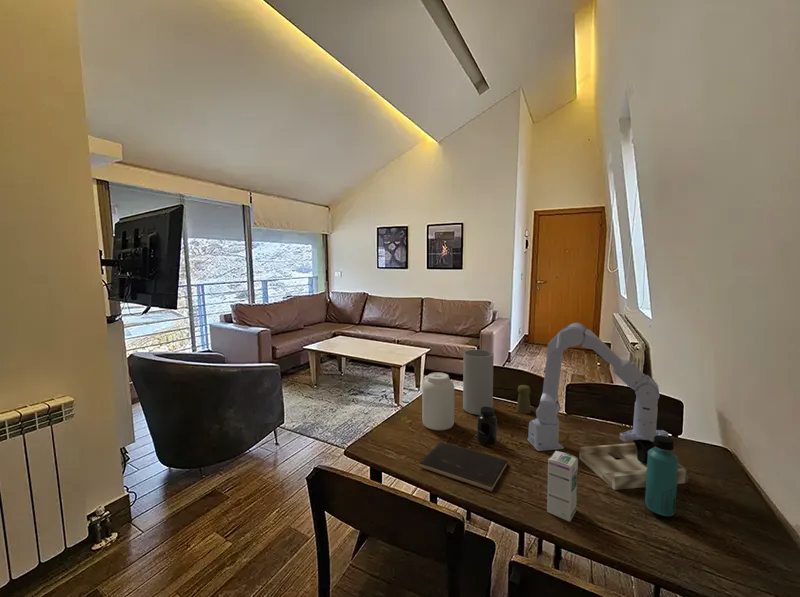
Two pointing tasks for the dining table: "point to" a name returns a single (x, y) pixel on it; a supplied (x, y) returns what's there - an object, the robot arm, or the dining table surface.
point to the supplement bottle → (487, 426)
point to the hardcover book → (465, 465)
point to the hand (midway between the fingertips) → (642, 461)
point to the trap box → (621, 465)
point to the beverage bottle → (661, 477)
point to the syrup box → (562, 485)
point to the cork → (523, 400)
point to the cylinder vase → (477, 380)
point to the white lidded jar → (438, 402)
